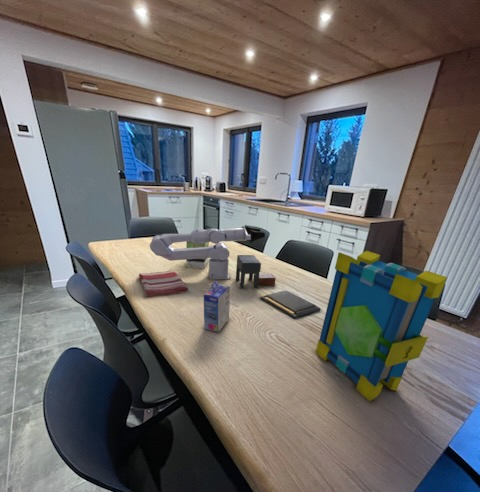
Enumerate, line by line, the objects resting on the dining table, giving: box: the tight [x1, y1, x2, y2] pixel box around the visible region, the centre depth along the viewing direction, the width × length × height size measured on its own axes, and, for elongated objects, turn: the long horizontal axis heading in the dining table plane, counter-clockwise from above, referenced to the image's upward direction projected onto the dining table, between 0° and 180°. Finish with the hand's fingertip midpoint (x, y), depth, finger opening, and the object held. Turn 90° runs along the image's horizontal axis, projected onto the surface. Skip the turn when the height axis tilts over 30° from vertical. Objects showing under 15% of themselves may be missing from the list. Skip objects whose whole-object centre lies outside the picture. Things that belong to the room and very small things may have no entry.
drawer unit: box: [235, 254, 262, 290], centre depth 121 cm, size 10×12×12 cm
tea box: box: [185, 241, 210, 269], centre depth 142 cm, size 15×10×15 cm, turn 179°
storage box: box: [252, 272, 277, 287], centre depth 124 cm, size 9×6×4 cm, turn 101°
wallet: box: [259, 290, 321, 319], centre depth 106 cm, size 20×2×15 cm
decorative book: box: [315, 250, 448, 402], centre depth 65 cm, size 14×23×30 cm, turn 24°
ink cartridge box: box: [203, 280, 231, 333], centre depth 86 cm, size 10×6×14 cm, turn 161°
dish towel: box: [138, 270, 189, 298], centre depth 115 cm, size 17×23×3 cm
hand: (262, 233), depth 124 cm, fingers open, 7 cm apart
